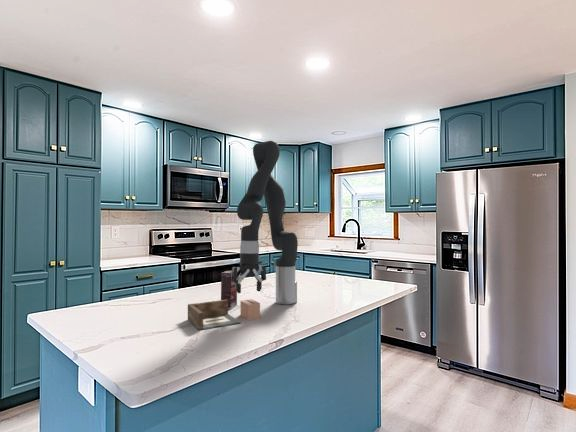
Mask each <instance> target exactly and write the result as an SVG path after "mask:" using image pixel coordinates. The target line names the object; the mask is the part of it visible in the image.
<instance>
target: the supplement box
mask: <svg viewBox="0 0 576 432" xmlns="http://www.w3.org/2000/svg"><path fill="white" fill-rule="evenodd" d="M220 277H221V278H220V280H221V281H220V283H221V284H220V300H228V311H229V310H232V309H233V308H235V307H236V306H237V305H238V293H237V291H236V283H234V282H232V281H231V277H232V269H230V270H226V271H224V272H221V275H220ZM236 280H237V279H236Z"/></svg>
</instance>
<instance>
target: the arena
mask: <svg viewBox="0 0 576 432" xmlns="http://www.w3.org/2000/svg"><path fill="white" fill-rule="evenodd" d="M187 321H188V322H189V323H190V324H192V325H193V327H195V328H196V329H197V330H198V331H202V330H210V329H215V328H222V327H226V326H227V327H228V326H233V325H240V324H241V322H242V321H239V319H237V318H235V317H234V316H232V315H231V314H229V310H228V300H221V299H219V300H212V301H206V302H205V301H204V302H196V303H188V304H187Z"/></svg>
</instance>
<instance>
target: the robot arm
mask: <svg viewBox="0 0 576 432" xmlns="http://www.w3.org/2000/svg"><path fill="white" fill-rule="evenodd" d="M280 152H281V151H280V146H279V144H278V142H277V141H275V140H267V141H262V142H258V143H255V144H254V145H253V148H252V156H253V159H254V162H255V166H256V168H257V171H256V172H255V174H253V176H252V177H251V179H250V181H249V185H248V187H247V191H246V193H245V194H244V195H243V196H242V199H241V200H240V202H239V203H238V205H237V208H236V214H237V217H238V218H239V219H240V220H242V221H251V222H250V224H248V225H244V226H241V230H240V233H241V234H240V245H239V249H240V250H239V266H237V267H236V266H232V267H231V270H232V277H231V281H232V282H234V283H236V291H237V294H241V293H242V284H241V283H242V282H243V280H244V279H245V278H255V279H256V291H257V292H261V290H262V288H263V287H262V286H263V285H262V283H263V281H266V280H267V270H266V269H267V267H266V265H263V264H262V265H261V264H260V265H259V262H260V261H259V260H260V259H259V255H260V244H259V243H260V242H259V233H260V232H259V230H260V227H261V224H262V223H261V222H262V218H263V217H264V216H263V215H264V207H263V205H262V204H261V203H260V202H261V201H263V198H264V201H265V206H266V207H265V208H266V211H267V216H268V220H269V227H270V236H271V242H272V246H273V248H274V249H275V250H277V251H280V252H281V256H280V257H279V258H276V259H275V303H276V304H277V305H279V304H280V305H292V304H295V303H298V282H297V281H296V262H297V259H298V246H299V245H298V236H297V235H296V233H294V232H293V231H285V229H284V224H283V222H284V221H283V217H284V213H285V210H286V198H285V192H284V188H283V187H282V186H281V184H280V183H279V181H277V180H276V179H275V177H274V176H273V175H272V173H273V170H274V169H275V166H276V165H277V162H278V160H279V158H280ZM259 271H260V274H259ZM239 272H240V273H239ZM238 273H239V275H238ZM236 279H237V280H236Z"/></svg>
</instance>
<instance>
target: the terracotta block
mask: <svg viewBox="0 0 576 432" xmlns="http://www.w3.org/2000/svg"><path fill="white" fill-rule="evenodd" d="M240 316H242V317H243V318H244V319H246V320H248V321H249V320H250V321H251V320H256V319H260V318H261V303H260V302H258V301H256V300H255V299H252V298H250V299H242V300H240Z"/></svg>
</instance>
